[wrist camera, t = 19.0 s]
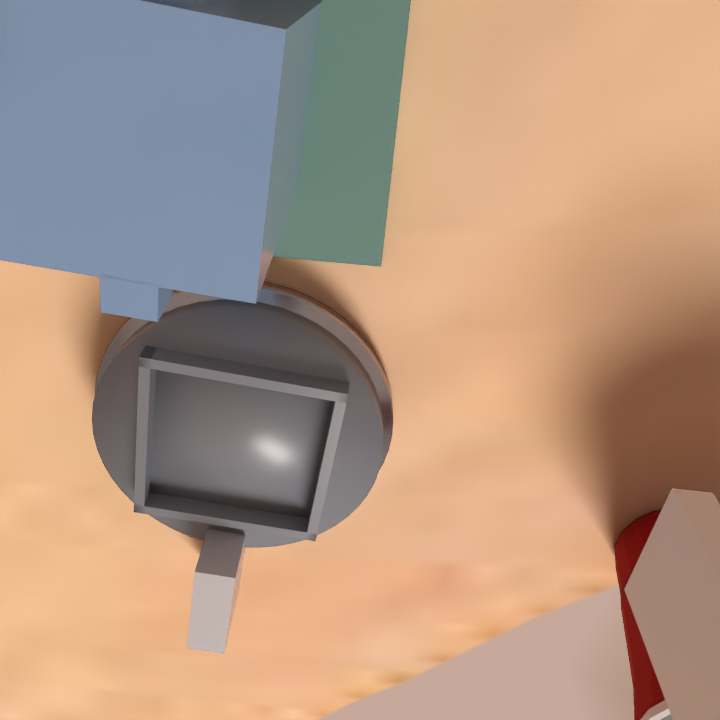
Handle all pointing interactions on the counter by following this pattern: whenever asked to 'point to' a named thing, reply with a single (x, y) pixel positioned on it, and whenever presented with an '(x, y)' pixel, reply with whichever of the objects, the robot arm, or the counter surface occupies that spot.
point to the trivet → (349, 134)
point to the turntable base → (300, 306)
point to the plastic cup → (647, 690)
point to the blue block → (152, 141)
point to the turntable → (237, 437)
